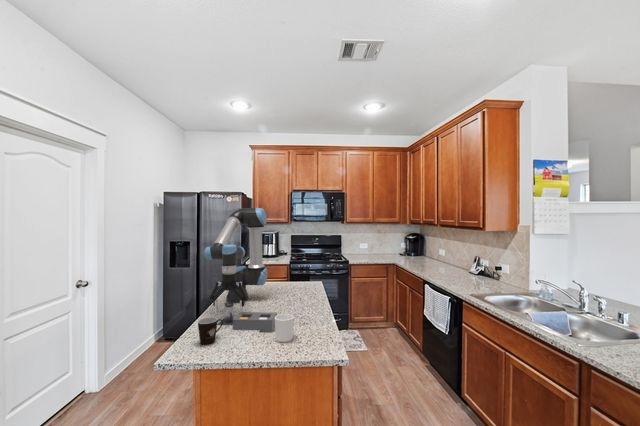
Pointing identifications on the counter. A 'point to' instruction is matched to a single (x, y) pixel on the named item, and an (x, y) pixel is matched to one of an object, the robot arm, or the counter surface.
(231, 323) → the plate
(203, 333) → the coffee mug
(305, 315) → the counter surface
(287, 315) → the mug
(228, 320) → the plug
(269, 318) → the socket block
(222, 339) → the counter surface
